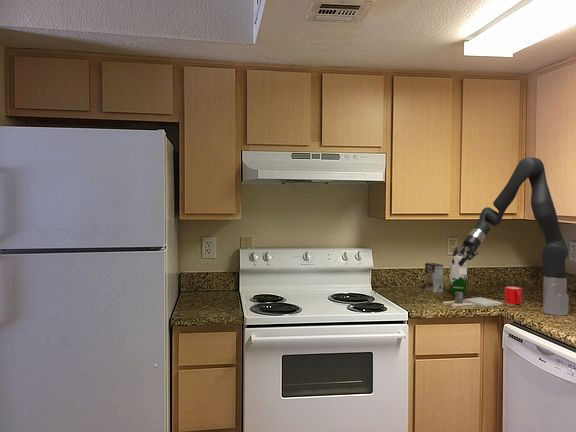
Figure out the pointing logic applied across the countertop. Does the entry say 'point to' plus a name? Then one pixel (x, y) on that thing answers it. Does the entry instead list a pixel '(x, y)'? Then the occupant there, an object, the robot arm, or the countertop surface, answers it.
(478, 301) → the tile
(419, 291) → the countertop surface
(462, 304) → the post stand
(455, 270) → the white stepped block
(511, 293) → the mug
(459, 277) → the milk carton
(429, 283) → the coffee box
